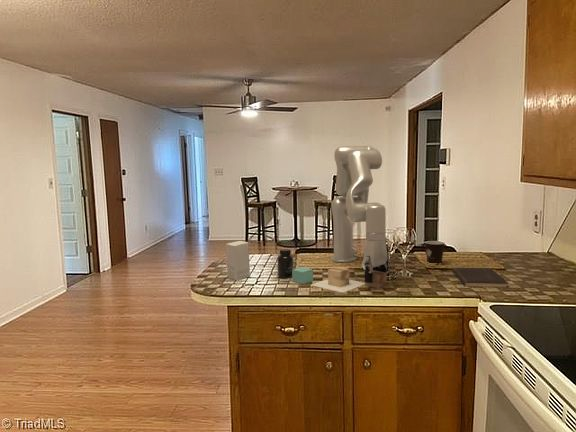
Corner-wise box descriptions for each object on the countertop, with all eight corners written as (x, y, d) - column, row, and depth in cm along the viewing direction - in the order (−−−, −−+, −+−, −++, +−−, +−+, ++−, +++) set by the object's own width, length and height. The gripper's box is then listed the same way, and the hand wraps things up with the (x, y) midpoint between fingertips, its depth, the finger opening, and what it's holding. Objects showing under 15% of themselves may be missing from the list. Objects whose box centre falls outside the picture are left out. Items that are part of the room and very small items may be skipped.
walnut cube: (373, 284, 176) (373, 270, 175) (386, 287, 172) (386, 272, 171) (364, 288, 172) (364, 273, 171) (377, 291, 167) (377, 275, 167)
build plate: (335, 278, 186) (335, 276, 185) (367, 285, 174) (367, 283, 174) (310, 287, 174) (310, 284, 174) (342, 295, 163) (342, 292, 163)
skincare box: (241, 274, 197) (240, 240, 195) (251, 276, 193) (249, 242, 191) (226, 278, 191) (225, 243, 189) (236, 280, 187) (234, 245, 185)
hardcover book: (490, 273, 190) (490, 267, 190) (508, 288, 167) (508, 282, 167) (452, 272, 193) (452, 267, 192) (464, 287, 170) (464, 282, 170)
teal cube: (302, 280, 184) (302, 267, 183) (313, 283, 180) (312, 269, 179) (292, 284, 180) (292, 269, 179) (303, 286, 176) (302, 272, 175)
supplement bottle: (291, 279, 187) (291, 251, 186) (276, 278, 189) (275, 251, 187) (294, 274, 194) (294, 248, 192) (279, 274, 195) (279, 248, 194)
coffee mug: (446, 265, 204) (447, 244, 202) (428, 265, 204) (428, 244, 202) (438, 259, 215) (438, 239, 214) (420, 259, 215) (421, 239, 214)
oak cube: (337, 281, 178) (337, 266, 178) (349, 283, 174) (349, 269, 174) (328, 284, 174) (327, 269, 174) (340, 287, 170) (339, 272, 169)
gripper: (379, 233, 178) (380, 274, 180) (354, 238, 165) (354, 283, 167) (396, 234, 172) (396, 277, 174) (371, 240, 160) (371, 286, 162)
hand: (375, 280), depth 171 cm, fingers open, 9 cm apart
